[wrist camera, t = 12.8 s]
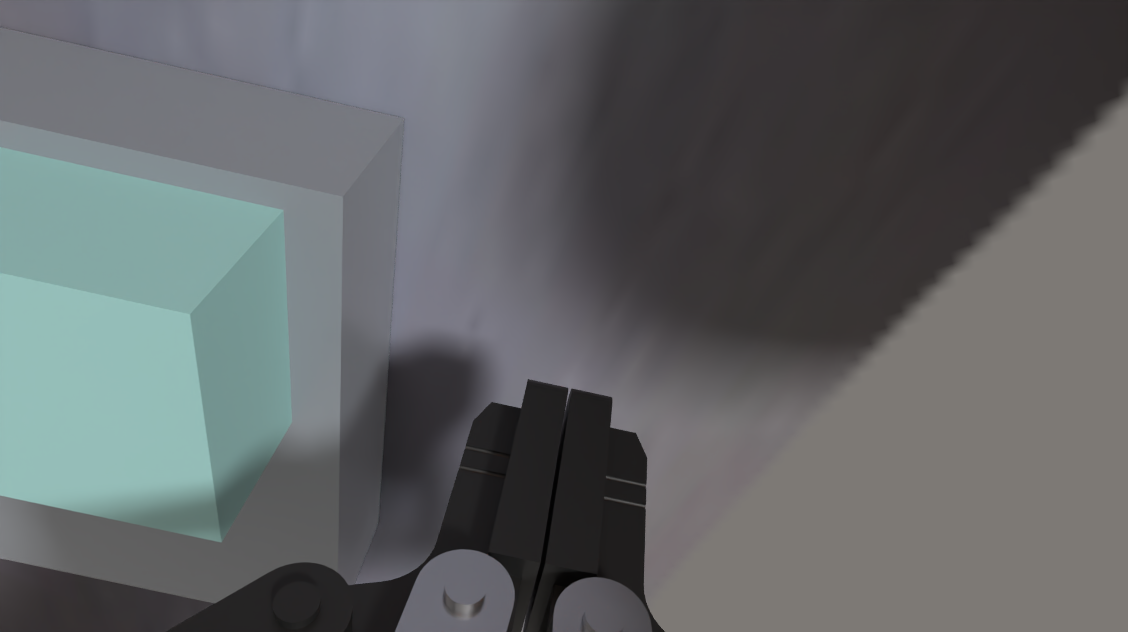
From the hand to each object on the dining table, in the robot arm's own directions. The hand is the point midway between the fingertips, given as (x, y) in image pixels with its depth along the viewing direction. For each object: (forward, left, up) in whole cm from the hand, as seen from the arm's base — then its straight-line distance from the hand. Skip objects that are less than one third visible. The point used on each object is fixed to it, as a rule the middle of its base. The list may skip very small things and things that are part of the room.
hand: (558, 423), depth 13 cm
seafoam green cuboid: (0, -8, -1) cm, 8 cm away
